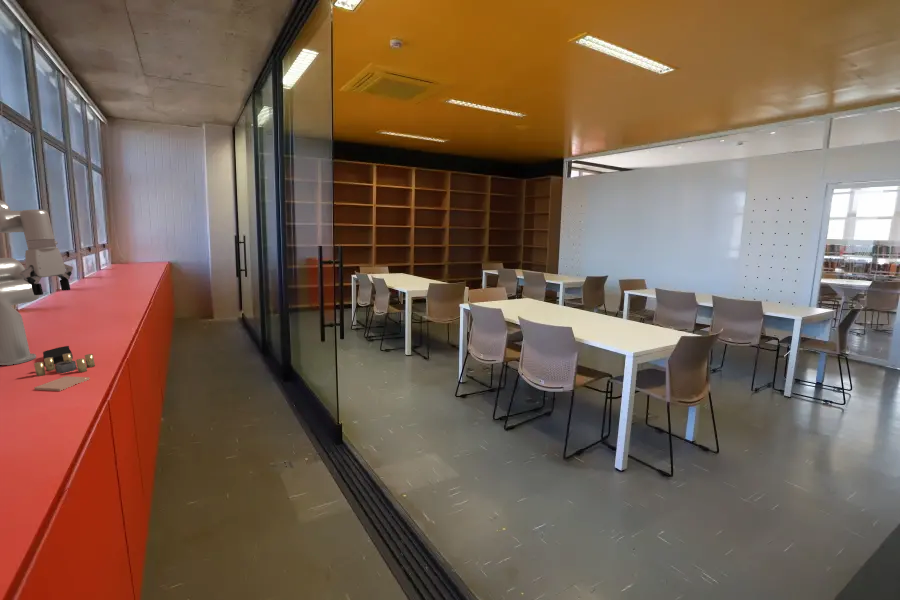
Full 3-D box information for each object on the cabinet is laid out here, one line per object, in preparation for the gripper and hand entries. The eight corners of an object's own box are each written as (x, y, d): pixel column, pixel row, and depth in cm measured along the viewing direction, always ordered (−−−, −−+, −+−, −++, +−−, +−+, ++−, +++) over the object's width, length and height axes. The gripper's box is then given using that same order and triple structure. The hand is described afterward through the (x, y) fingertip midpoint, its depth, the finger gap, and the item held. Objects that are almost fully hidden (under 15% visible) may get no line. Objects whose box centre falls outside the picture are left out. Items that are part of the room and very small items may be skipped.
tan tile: (34, 389, 145) (34, 387, 144) (65, 378, 154) (65, 376, 154) (60, 391, 143) (59, 388, 143) (89, 379, 153) (89, 377, 152)
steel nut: (53, 373, 161) (51, 365, 160) (67, 368, 165) (65, 360, 165) (66, 373, 160) (64, 365, 159) (80, 368, 164) (78, 360, 164)
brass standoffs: (30, 375, 158) (27, 363, 157) (65, 364, 170) (62, 352, 169) (68, 377, 155) (66, 365, 154) (101, 365, 167) (99, 354, 166)
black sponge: (74, 361, 173) (72, 353, 172) (45, 367, 167) (43, 358, 167) (70, 353, 185) (68, 345, 184) (43, 358, 179) (41, 349, 178)
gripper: (57, 244, 166) (67, 288, 169) (5, 247, 150) (18, 297, 153) (74, 242, 165) (84, 288, 168) (23, 246, 148) (36, 296, 151)
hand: (52, 292), depth 160 cm, fingers open, 9 cm apart
